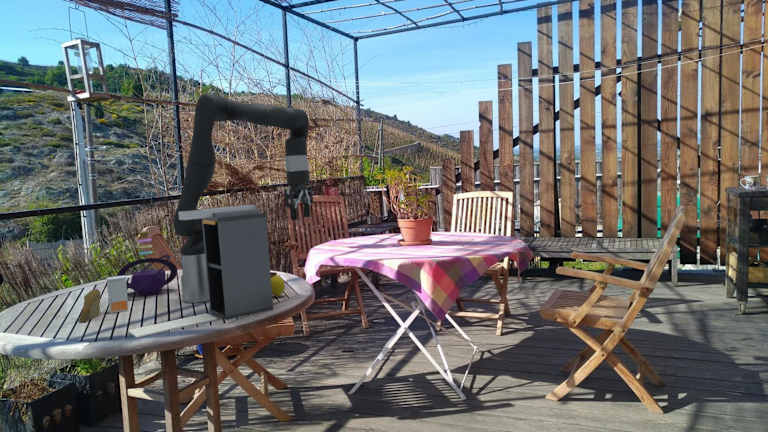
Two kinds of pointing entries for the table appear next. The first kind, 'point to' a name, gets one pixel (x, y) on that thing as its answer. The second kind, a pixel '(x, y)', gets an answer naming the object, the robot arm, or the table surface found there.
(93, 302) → the rock
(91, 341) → the table surface
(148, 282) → the purple handbag
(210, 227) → the rack
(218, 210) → the panel
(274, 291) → the lemon
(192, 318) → the mat
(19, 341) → the table surface
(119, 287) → the skincare box
